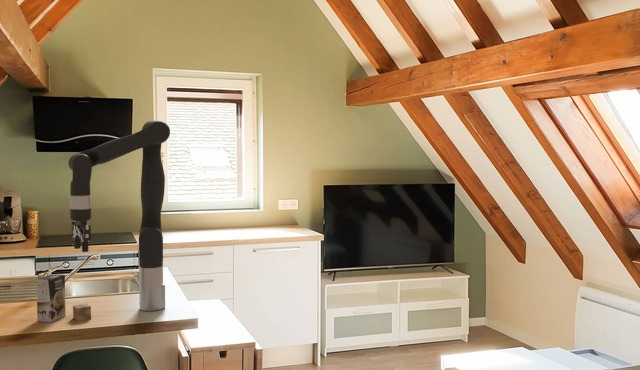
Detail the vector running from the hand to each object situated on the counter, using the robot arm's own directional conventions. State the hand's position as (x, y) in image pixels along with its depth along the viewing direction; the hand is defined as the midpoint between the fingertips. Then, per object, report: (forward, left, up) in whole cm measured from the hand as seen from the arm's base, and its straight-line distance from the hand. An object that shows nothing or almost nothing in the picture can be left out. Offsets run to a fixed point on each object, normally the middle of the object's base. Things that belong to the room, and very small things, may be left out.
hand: (81, 250), depth 244 cm
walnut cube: (0, 0, -26) cm, 26 cm away
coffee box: (+9, -7, -26) cm, 29 cm away
